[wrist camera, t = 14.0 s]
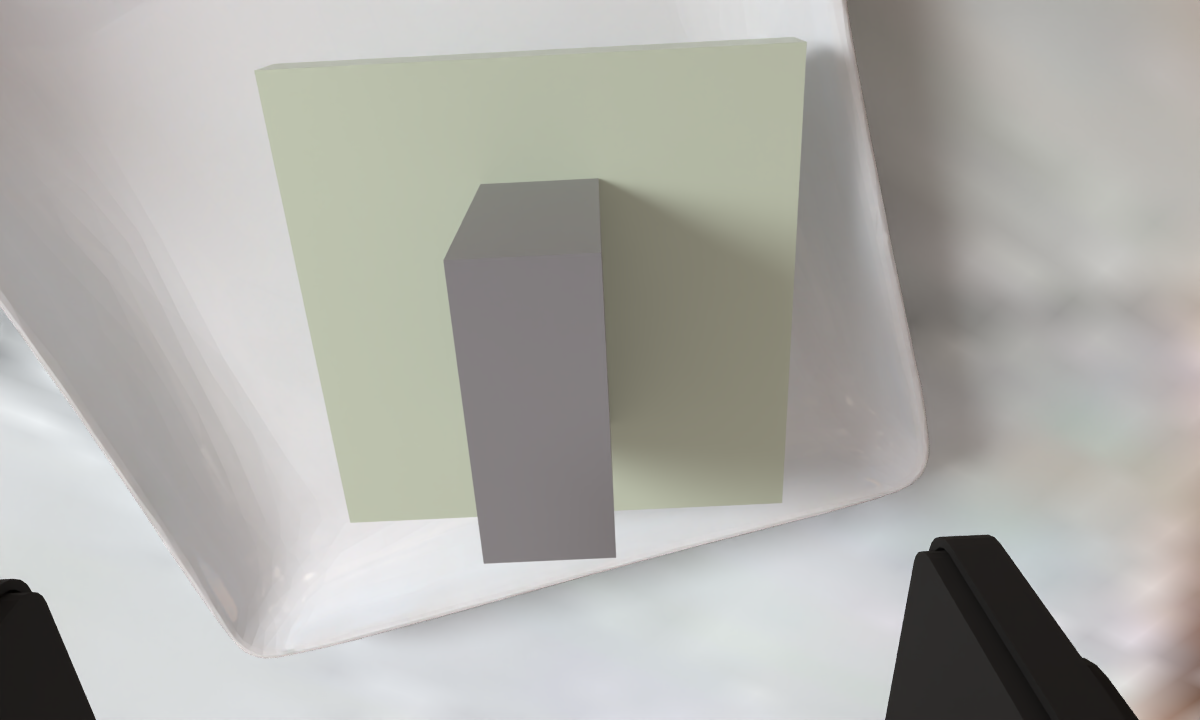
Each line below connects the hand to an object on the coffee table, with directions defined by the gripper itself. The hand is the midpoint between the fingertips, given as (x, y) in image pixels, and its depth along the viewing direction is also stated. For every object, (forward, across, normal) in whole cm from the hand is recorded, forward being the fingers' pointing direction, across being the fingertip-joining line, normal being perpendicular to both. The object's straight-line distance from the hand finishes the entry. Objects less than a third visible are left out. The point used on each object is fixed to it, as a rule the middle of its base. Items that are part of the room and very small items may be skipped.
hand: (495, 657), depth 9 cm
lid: (+12, 0, +1) cm, 12 cm away
